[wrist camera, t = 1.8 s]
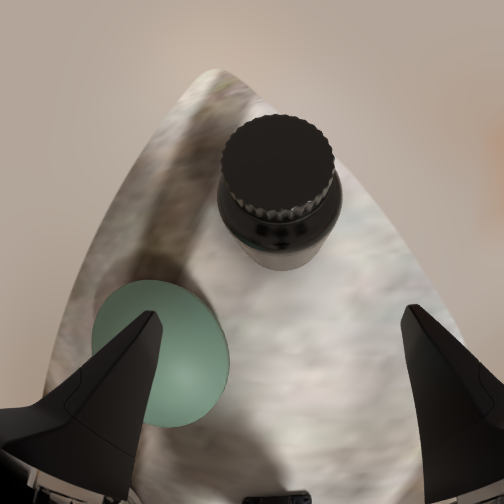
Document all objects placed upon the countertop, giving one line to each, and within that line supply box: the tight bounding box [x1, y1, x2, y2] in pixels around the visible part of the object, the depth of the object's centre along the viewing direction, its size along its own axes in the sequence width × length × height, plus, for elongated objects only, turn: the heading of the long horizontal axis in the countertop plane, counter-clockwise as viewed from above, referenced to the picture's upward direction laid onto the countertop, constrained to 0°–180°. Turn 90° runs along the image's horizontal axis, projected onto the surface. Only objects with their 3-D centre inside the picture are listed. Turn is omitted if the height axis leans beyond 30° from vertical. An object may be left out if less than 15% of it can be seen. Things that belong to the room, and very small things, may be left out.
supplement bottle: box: [217, 114, 343, 271], centre depth 16 cm, size 7×7×12 cm
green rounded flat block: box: [92, 280, 230, 428], centre depth 20 cm, size 12×12×3 cm
